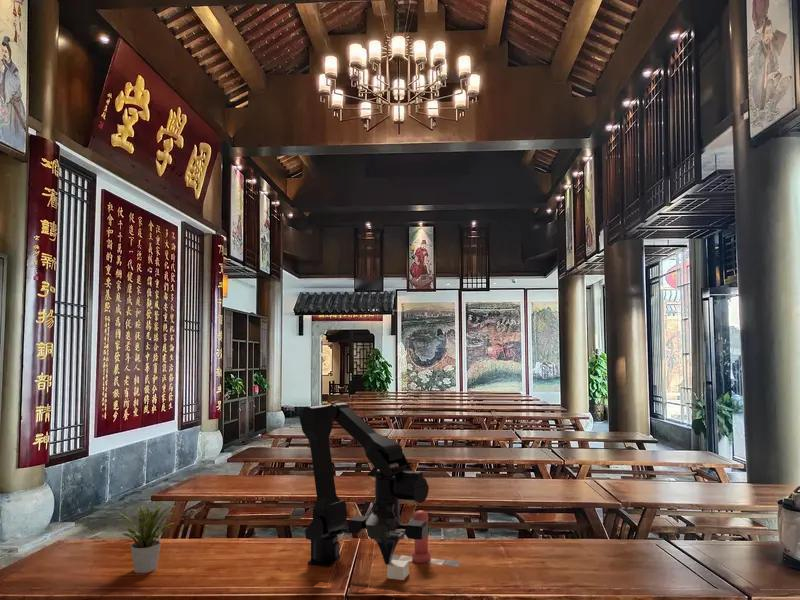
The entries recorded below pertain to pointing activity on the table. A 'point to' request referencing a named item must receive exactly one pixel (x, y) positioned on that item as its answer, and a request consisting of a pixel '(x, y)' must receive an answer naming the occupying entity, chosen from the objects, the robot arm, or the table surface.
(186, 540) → the table surface
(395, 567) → the white cube
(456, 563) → the track board
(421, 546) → the pawn
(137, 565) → the house plant
